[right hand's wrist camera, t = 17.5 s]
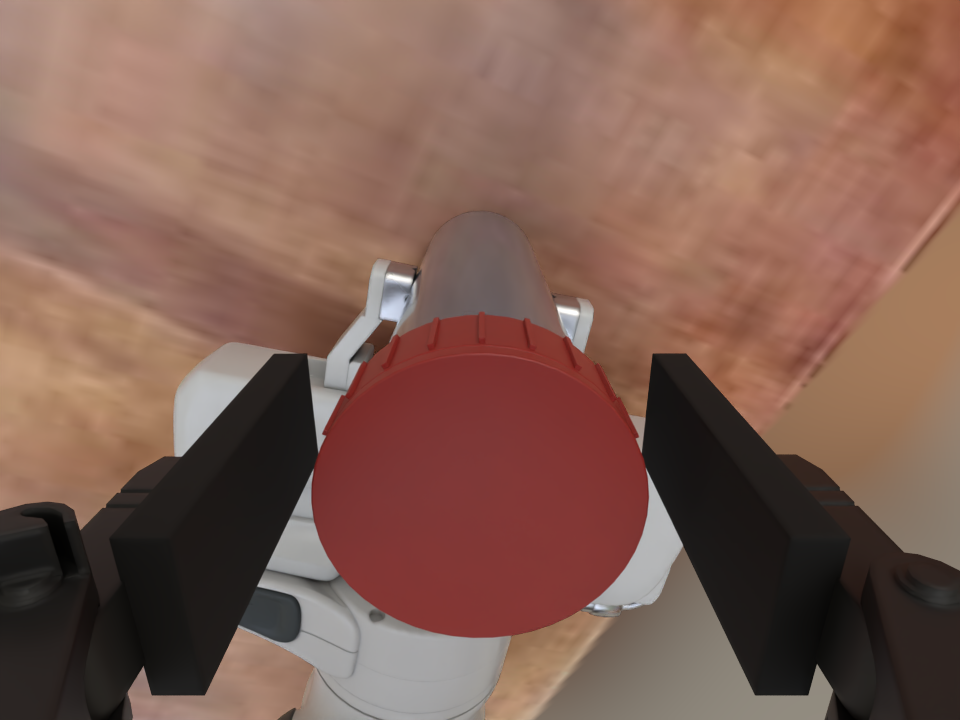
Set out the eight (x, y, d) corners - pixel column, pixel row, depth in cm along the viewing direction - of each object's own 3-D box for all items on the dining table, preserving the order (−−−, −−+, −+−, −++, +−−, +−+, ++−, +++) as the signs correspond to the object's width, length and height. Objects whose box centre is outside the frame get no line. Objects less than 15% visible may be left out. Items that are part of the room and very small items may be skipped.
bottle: (423, 315, 29) (341, 592, 12) (427, 207, 27) (337, 350, 10) (529, 322, 29) (598, 606, 12) (540, 214, 27) (641, 370, 10)
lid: (543, 602, 14) (553, 679, 12) (293, 508, 13) (260, 576, 11) (683, 386, 12) (721, 438, 10) (399, 257, 11) (382, 286, 9)
